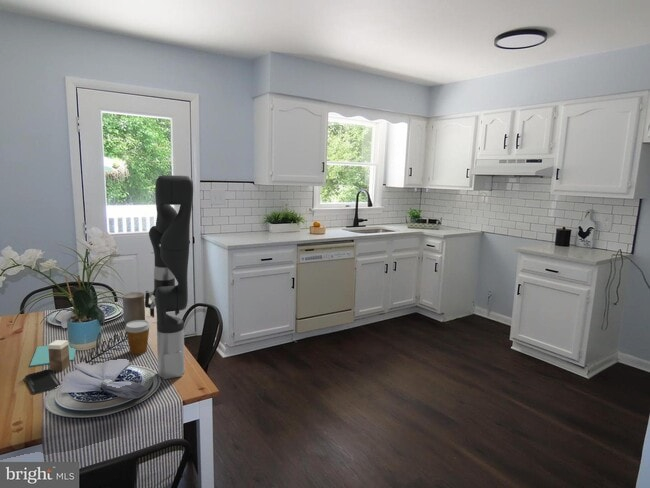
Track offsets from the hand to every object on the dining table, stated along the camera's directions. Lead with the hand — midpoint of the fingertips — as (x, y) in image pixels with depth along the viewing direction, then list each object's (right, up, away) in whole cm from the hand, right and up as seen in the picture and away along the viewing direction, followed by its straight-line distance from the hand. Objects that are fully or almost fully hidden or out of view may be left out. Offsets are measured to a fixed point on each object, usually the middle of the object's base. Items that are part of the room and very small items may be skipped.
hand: (164, 315), depth 163 cm
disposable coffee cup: (-14, -16, +7) cm, 23 cm away
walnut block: (-36, -18, -9) cm, 41 cm away
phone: (-35, -20, -19) cm, 45 cm away
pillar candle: (-30, -10, +40) cm, 51 cm away
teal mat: (-45, -16, +2) cm, 47 cm away
